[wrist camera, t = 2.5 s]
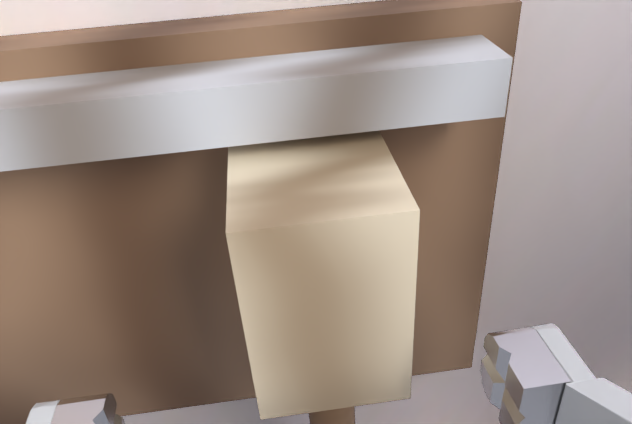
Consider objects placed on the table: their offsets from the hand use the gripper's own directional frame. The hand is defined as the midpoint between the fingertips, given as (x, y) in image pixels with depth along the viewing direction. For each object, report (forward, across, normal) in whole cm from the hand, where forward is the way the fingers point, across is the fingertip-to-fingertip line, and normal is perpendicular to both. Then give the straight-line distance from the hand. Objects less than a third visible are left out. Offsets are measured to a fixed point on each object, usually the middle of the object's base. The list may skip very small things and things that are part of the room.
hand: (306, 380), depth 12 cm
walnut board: (+8, +4, +1) cm, 9 cm away
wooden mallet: (+6, -1, +2) cm, 7 cm away
